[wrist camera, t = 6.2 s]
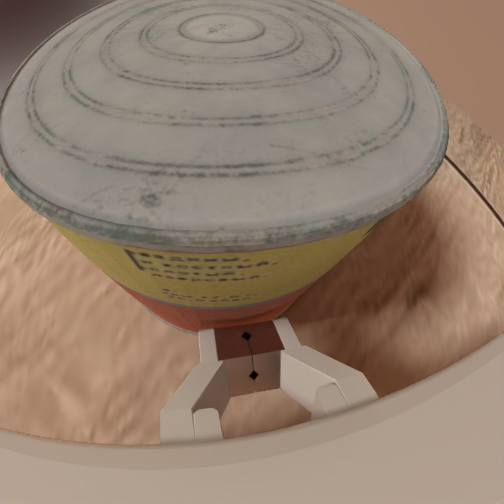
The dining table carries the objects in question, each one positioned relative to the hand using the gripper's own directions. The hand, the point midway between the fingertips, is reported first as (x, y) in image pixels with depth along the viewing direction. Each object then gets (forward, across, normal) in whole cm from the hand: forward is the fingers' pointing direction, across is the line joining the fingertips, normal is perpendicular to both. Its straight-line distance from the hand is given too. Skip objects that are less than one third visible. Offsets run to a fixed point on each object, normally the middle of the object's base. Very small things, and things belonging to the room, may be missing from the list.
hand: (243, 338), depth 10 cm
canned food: (+8, 0, -1) cm, 8 cm away
